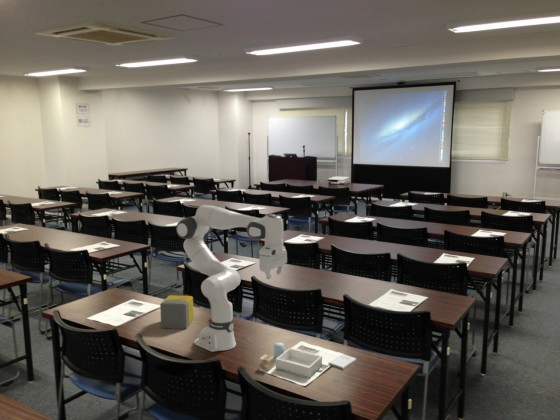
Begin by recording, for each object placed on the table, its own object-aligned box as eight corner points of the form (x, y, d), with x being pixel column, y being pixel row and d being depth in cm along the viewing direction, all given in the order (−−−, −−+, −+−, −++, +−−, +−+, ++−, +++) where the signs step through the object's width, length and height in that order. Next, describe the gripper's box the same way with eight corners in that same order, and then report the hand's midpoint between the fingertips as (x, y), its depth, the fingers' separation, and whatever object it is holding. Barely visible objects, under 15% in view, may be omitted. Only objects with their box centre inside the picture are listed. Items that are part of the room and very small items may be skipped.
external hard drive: (328, 365, 223) (342, 356, 232) (343, 370, 218) (356, 361, 227) (328, 362, 223) (342, 353, 232) (343, 367, 217) (356, 358, 227)
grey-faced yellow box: (198, 314, 288) (197, 290, 286) (186, 329, 264) (185, 304, 262) (174, 313, 289) (173, 290, 287) (160, 328, 265) (159, 303, 263)
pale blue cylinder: (272, 358, 229) (272, 345, 228) (277, 354, 233) (277, 341, 232) (280, 361, 226) (280, 347, 225) (285, 356, 230) (286, 343, 229)
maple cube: (259, 368, 219) (259, 358, 218) (265, 364, 223) (265, 354, 222) (268, 371, 216) (268, 360, 216) (274, 366, 221) (274, 356, 220)
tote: (275, 368, 218) (275, 358, 217) (289, 357, 230) (289, 347, 229) (309, 378, 209) (309, 368, 209) (321, 366, 221) (322, 356, 220)
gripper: (279, 243, 231) (279, 270, 233) (256, 251, 214) (257, 280, 216) (290, 245, 228) (290, 272, 230) (268, 253, 211) (268, 282, 213)
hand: (273, 276), depth 223 cm, fingers open, 8 cm apart
